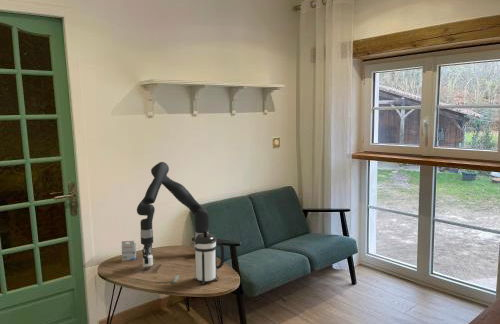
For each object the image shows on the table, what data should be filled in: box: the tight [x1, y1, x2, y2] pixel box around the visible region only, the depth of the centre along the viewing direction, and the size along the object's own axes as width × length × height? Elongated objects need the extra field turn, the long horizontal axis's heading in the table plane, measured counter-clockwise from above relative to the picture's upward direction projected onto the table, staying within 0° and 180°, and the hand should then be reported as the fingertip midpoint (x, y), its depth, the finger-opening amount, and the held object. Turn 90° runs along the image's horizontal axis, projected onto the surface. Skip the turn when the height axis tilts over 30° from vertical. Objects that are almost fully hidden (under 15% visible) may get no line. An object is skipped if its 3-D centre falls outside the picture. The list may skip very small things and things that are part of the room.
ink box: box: [121, 240, 137, 262], centre depth 250 cm, size 8×5×15 cm, turn 96°
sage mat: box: [154, 274, 180, 284], centre depth 221 cm, size 12×10×1 cm
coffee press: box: [193, 231, 225, 286], centre depth 220 cm, size 17×16×30 cm
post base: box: [133, 263, 162, 274], centre depth 234 cm, size 14×14×6 cm
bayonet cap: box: [142, 254, 154, 267], centre depth 233 cm, size 6×6×6 cm
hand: (147, 261), depth 233 cm, fingers closed on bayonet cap, 6 cm apart
